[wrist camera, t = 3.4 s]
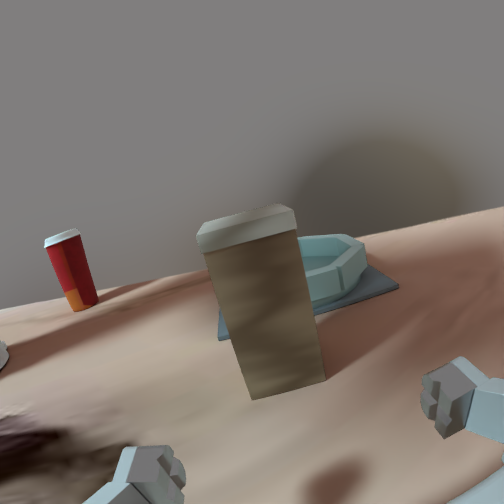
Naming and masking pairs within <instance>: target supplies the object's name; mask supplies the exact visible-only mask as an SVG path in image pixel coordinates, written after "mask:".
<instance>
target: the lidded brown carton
mask: <svg viewBox="0 0 504 504" xmlns="http://www.w3.org/2000/svg"><path fill="white" fill-rule="evenodd" d="M296 228H297V225H296V221H295V216H294V212H293V210H292V209H290V208H288V207H286V206H284V205H282V204H279V203H276V204H272V205H268V206H264V207H261V208H257V209H253V210H249V211H246V212H242V213H238V214H234V215H230V216H227V217H224V218H219V219H216V220H212V221H209V222H205V223H204V224H203V225H202V227H201V228H200V230H199V232H198V233H197V235H196V238H197V241H198V245H199V248H200V252H201V254H204V258H205V261H206V264H207V267H208V271H209V274H210V277H211V280H212V284H213V287H214V290H215V293H216V296H217V299H218V303H219V306H220V309H221V312H222V315H223V318H224V321H225V324H226V327H227V330H228V333H229V336H230V339H231V342H232V345H233V348H234V351H235V354H236V357H237V360H238V363H239V365H240V368H241V371H242V374H243V377H244V380H245V382H246V385H247V388H248V391H249V394H250V396H251V399H252V400H256V399H260V398H264V397H268V396H272V395H276V394H280V393H284V392H288V391H292V390H295V389H299V388H302V387H306V386H309V385H313V384H316V383H319V382H322V381H326V377H325V371H324V365H323V360H322V354H321V349H320V344H319V338H318V333H317V328H316V323H315V318H314V313H313V308H312V303H311V298H310V293H309V289H308V284H307V279H306V275H305V270H304V265H303V261H302V256H301V252H300V247H299V243H298V239H297V234H296V230H295V229H296Z"/></svg>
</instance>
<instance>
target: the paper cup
mask: <svg viewBox="0 0 504 504" xmlns="http://www.w3.org/2000/svg"><path fill="white" fill-rule="evenodd" d="M80 234H81V232H80V233H79V231H78V230H77V228H74V229H71V230H68V231H65V232H63V233H60V234H58V235H55V236H52V237H50V238H47V239H45V246H44V248H45V247H46V249H47V252H48V254H49V257H50V259H51V262H52V265H53V267H54V270H55V272H56V275H57V277H58V279H59V282H60V284H61V286H62V288H63V291H64V293H65V295H66V297H67V299H68V302H69V304H70V306H71V308H72V309H73V311H74V312H78V311H82V310H85V309H87V308H90V307H92V306H93V305H95V304H96V303H97V302H98V301H99V300H98V296H97V293H96V289H95V286H94V283H93V280H92V277H91V273H90V270H89V266H88V263H87V259H86V256H85V251H84V248H83V245H82V241H81V237H80Z"/></svg>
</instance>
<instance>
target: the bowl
mask: <svg viewBox="0 0 504 504" xmlns="http://www.w3.org/2000/svg"><path fill="white" fill-rule="evenodd" d="M297 239H298V243H299V247H300V252H301V256H302V261H303V265H304V270H305V275H306V279H307V284H308V289H309V293H310V298H311V303H312V308H313V310H314V309H317V308H320V307H323V306H325V305H328V304H330V303H332V302H334V301H336V300H338V299H340V298H342V297H343V296H345V295H346V294H348V293H349V292H350V291H352V290H353V289H354V288H355V287H356V286H357V284H358V283H359V281H360V279H361V273H362V272H363V271H364V269H365V268H366V267H367V258H366V252H365V245H364V243H362V242H360V241H358V240H356V239H354V238H352V237H350V236H348V235H346V234H344V235H343V234H335V235H319V236H304V237H302V238H300V237H299V238H297Z"/></svg>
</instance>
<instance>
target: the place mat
mask: <svg viewBox="0 0 504 504" xmlns="http://www.w3.org/2000/svg"><path fill="white" fill-rule="evenodd" d="M397 288H399V285H398V284H397V283H396V282H394V281H393V280H391V279H390V278H388V277H387V276H385V275H384V274H382V273H381V272H379V271H378V270H376V269H375V268H373V267H372V266H370V265H368V264H367V267H366V268H365V269H364V271H363V272H362V273H361V279H360V281H359V283H358V284H357V286H356V287H355V288H354V289H353V290H352V291H350V292H349V293H348V294H346V295H345V296H343V297H342V298H340V299H338V300H336V301H334V302H332V303H330V304H328V305H325V306H323V307H320V308H317V309H314V310H313V313H314V315H317V314H321V313H324V312H327V311H330V310H334V309H337V308H340V307H343V306H346V305H350V304H353V303H356V302H359V301H362V300H365V299H368V298H371V297H374V296H377V295H380V294H383V293H385V292H388V291H391V290H394V289H397ZM229 338H230V336H229V333H228V330H227V327H226V324H225V321H224V318H223V315H222V312H221V309H220V311H219V324H218V340H219V341H220V340H224V339H229Z"/></svg>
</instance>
